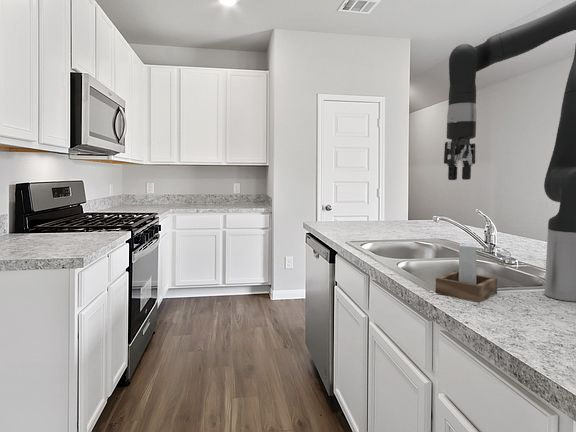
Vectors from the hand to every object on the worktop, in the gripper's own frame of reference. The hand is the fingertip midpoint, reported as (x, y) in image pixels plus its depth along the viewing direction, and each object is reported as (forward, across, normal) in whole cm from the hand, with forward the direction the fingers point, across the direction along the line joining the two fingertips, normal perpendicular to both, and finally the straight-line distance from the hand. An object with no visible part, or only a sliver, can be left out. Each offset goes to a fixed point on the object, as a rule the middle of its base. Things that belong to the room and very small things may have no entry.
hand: (459, 179), depth 113 cm
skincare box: (+29, +7, +6) cm, 31 cm away
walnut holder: (+30, +7, +6) cm, 31 cm away
